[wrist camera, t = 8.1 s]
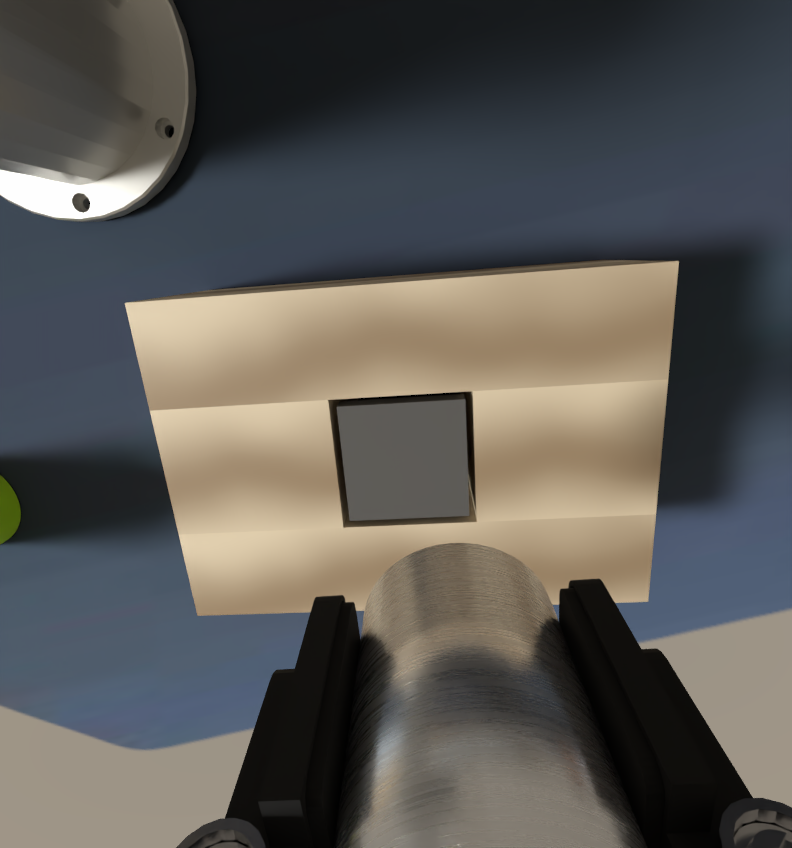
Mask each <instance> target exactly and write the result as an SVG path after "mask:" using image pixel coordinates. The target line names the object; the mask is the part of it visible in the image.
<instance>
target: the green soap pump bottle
mask: <svg viewBox="0 0 792 848" xmlns="http://www.w3.org/2000/svg"><path fill="white" fill-rule="evenodd" d="M20 519H21V510H20V504H19V501H18V498H17V496H16V494H15V492H14V490H13V489H12V487H11V486H10V485H9V483H8V482H7V481H6V480H5V479H4V478H3V477H2V476H1V475H0V545H1V544H2V543H3V542H5V541H6V540H8V539H9V538H10V537H12V536H13V534H14V533H15V532H16V530H17V529H18V526H19V523H20Z"/></svg>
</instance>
